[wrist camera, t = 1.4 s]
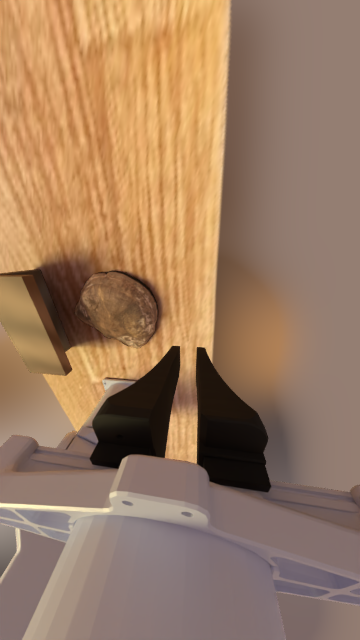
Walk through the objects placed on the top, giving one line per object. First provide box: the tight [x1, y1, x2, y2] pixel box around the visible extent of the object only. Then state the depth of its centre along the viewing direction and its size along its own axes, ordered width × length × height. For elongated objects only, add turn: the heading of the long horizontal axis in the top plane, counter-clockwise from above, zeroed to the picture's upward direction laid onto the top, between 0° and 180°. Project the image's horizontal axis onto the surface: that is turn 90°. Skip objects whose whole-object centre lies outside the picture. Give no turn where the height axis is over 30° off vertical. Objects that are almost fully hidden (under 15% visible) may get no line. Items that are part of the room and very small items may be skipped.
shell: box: [75, 271, 158, 348], centre depth 22 cm, size 12×13×4 cm
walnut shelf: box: [0, 270, 72, 376], centre depth 22 cm, size 14×6×6 cm, turn 1°
